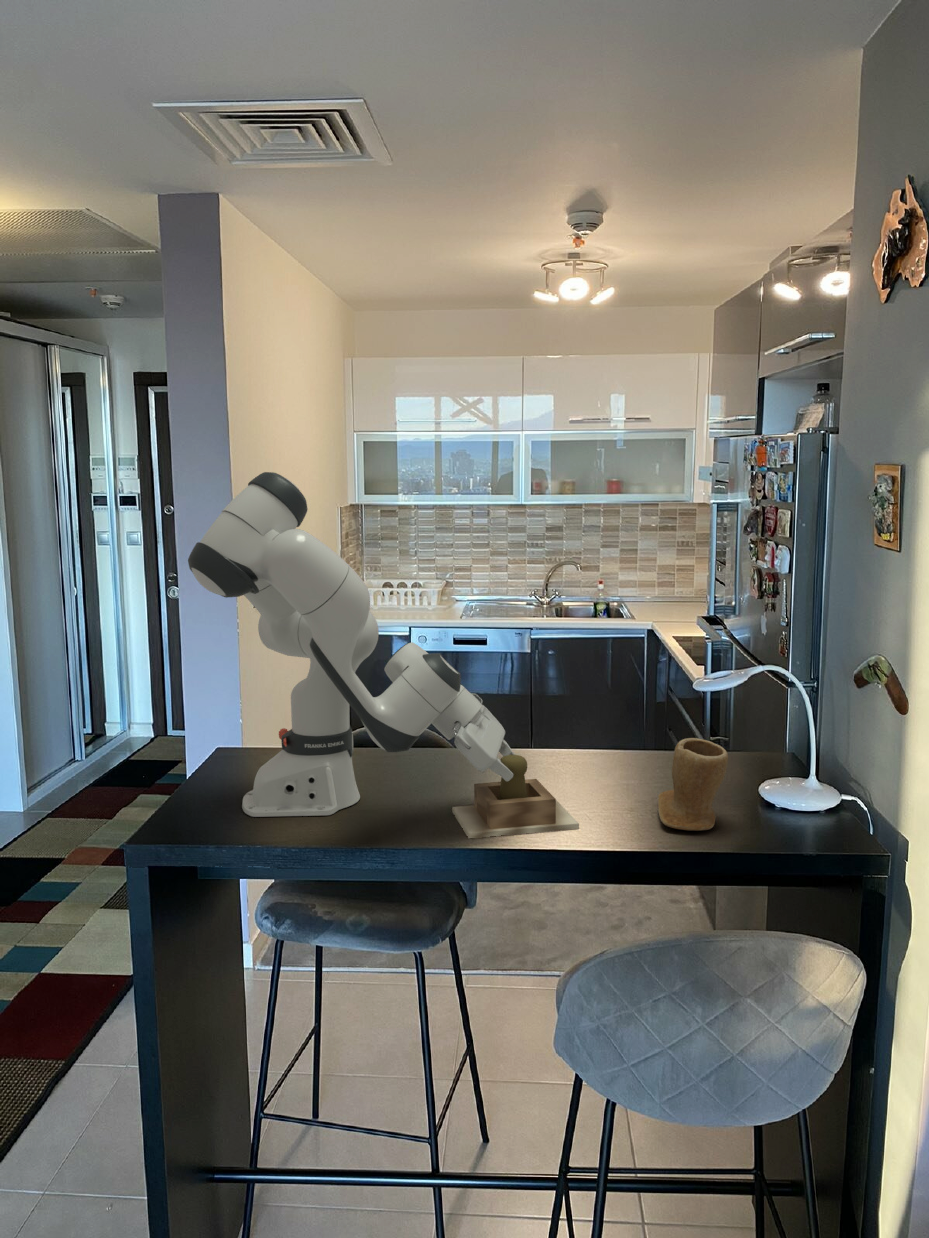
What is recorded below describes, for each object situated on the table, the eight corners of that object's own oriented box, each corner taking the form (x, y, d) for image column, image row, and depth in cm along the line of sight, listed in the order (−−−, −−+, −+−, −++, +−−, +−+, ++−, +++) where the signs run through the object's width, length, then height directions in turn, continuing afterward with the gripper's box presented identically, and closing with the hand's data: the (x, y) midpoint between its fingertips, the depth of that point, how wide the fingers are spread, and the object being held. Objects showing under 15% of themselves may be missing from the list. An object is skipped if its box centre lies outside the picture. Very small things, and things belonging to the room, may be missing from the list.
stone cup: (728, 838, 166) (730, 753, 163) (657, 834, 168) (659, 750, 166) (722, 808, 180) (724, 730, 178) (657, 805, 183) (659, 728, 180)
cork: (522, 807, 179) (521, 750, 177) (535, 818, 173) (535, 759, 172) (491, 811, 177) (491, 753, 175) (503, 822, 171) (503, 762, 170)
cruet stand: (468, 838, 166) (468, 808, 166) (452, 812, 180) (452, 783, 179) (579, 828, 171) (579, 798, 170) (554, 803, 184) (554, 775, 183)
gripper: (463, 718, 163) (521, 775, 164) (477, 692, 184) (529, 742, 184) (438, 743, 165) (495, 800, 165) (454, 714, 185) (506, 764, 185)
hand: (513, 769), depth 174 cm, fingers open, 8 cm apart
